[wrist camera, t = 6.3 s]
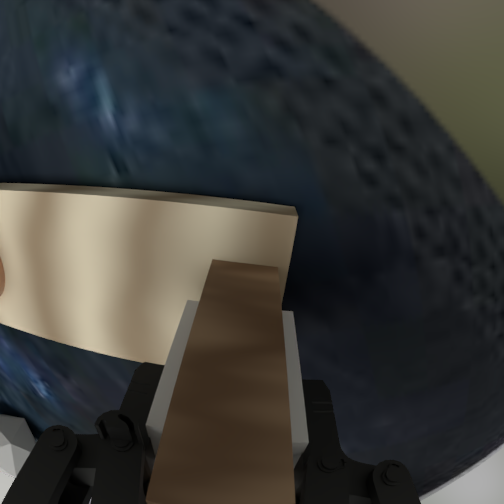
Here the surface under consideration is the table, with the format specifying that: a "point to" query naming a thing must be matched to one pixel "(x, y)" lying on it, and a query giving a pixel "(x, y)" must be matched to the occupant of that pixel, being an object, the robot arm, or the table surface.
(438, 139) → the table surface
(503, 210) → the table surface
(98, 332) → the strip
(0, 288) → the pink glossy domed part
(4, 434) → the die
